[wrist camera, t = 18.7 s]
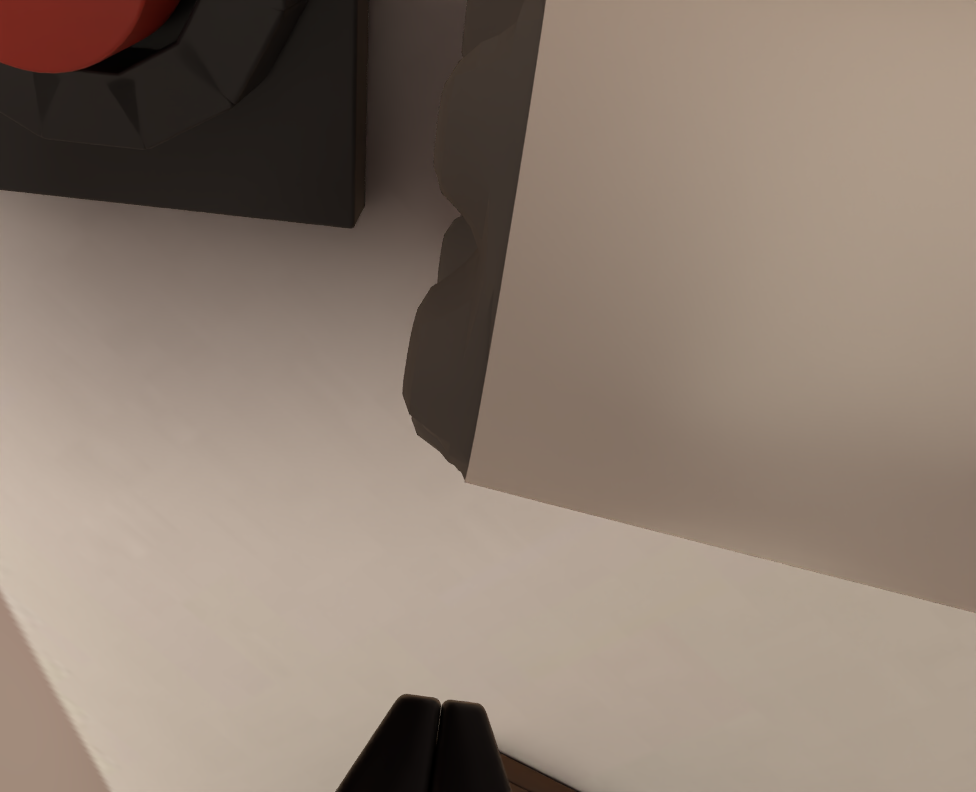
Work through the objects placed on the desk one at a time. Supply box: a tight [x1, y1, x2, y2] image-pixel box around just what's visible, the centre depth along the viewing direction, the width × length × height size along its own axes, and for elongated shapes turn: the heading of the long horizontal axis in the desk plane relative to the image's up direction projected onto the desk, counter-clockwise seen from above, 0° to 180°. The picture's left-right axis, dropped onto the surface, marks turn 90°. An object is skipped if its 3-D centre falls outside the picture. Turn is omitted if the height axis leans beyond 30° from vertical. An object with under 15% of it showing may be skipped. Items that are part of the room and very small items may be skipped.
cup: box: [402, 0, 976, 613], centre depth 13 cm, size 10×10×13 cm
